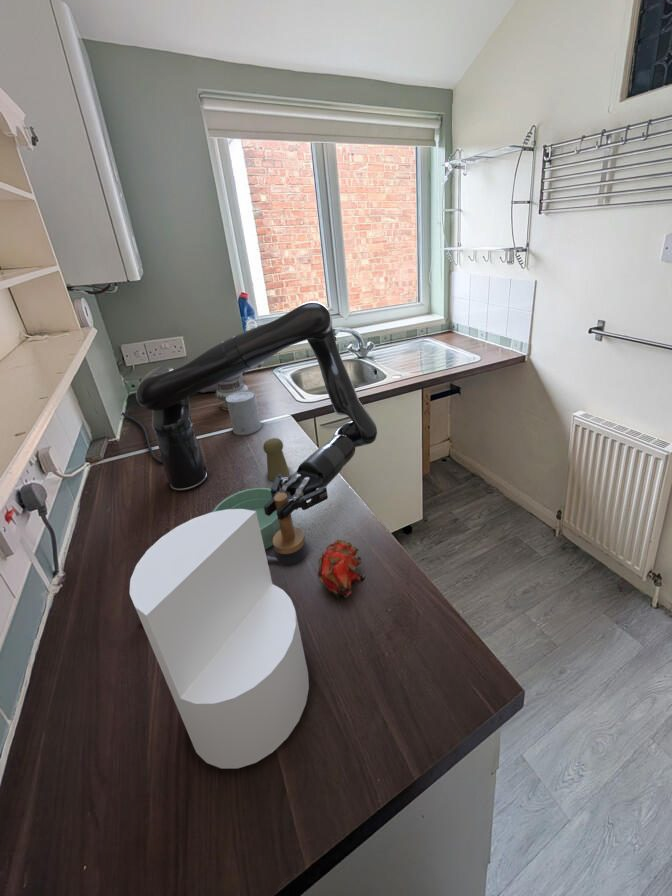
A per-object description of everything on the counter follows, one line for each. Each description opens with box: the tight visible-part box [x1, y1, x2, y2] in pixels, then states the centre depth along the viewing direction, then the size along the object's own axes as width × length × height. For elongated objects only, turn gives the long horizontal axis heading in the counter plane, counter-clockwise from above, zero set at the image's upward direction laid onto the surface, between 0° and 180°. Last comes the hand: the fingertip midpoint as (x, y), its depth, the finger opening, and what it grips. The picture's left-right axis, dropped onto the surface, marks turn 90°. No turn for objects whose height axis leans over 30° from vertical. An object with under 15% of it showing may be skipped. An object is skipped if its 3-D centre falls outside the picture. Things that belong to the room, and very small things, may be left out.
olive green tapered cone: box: [262, 437, 290, 482], centre depth 111 cm, size 6×6×11 cm
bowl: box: [211, 487, 280, 551], centre depth 92 cm, size 16×16×6 cm
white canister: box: [226, 390, 262, 436], centre depth 138 cm, size 10×10×12 cm
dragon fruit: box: [317, 539, 367, 598], centre depth 77 cm, size 8×8×12 cm
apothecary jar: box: [215, 372, 249, 411], centre depth 156 cm, size 12×12×18 cm
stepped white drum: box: [129, 509, 310, 769], centre depth 55 cm, size 17×17×28 cm
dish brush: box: [272, 493, 308, 566], centre depth 83 cm, size 7×7×15 cm
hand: (272, 513), depth 79 cm, fingers closed on dish brush, 2 cm apart
